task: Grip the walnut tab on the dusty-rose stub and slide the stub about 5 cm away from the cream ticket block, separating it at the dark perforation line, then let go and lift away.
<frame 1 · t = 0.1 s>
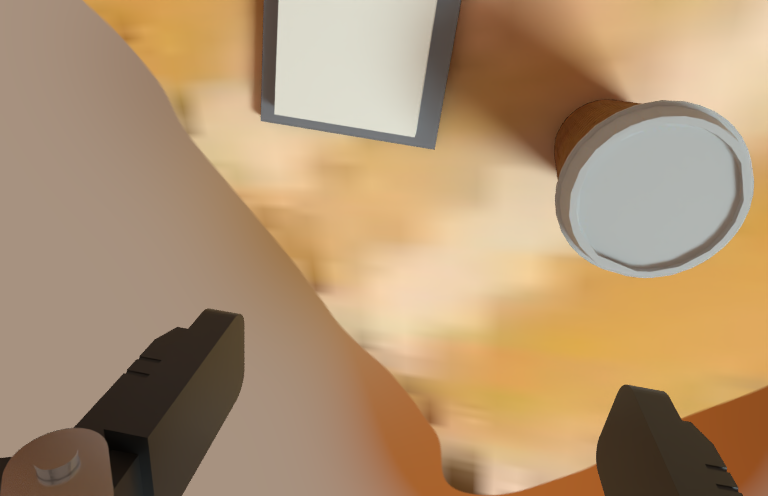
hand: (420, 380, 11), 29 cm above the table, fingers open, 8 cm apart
disposable coffee cup: (599, 144, 37), on the table
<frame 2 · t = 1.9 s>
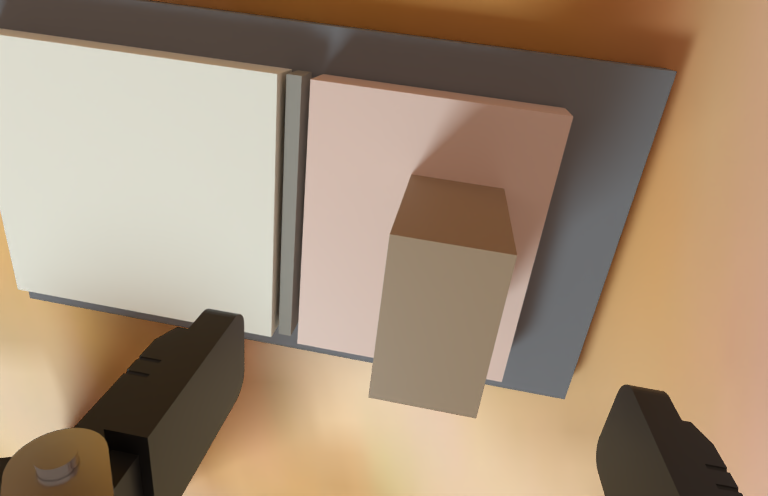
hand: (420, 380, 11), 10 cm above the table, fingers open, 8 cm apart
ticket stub: (410, 268, 16), point 4 cm above the table, slide at 0.0 cm
ticket base: (297, 198, 20), on the table
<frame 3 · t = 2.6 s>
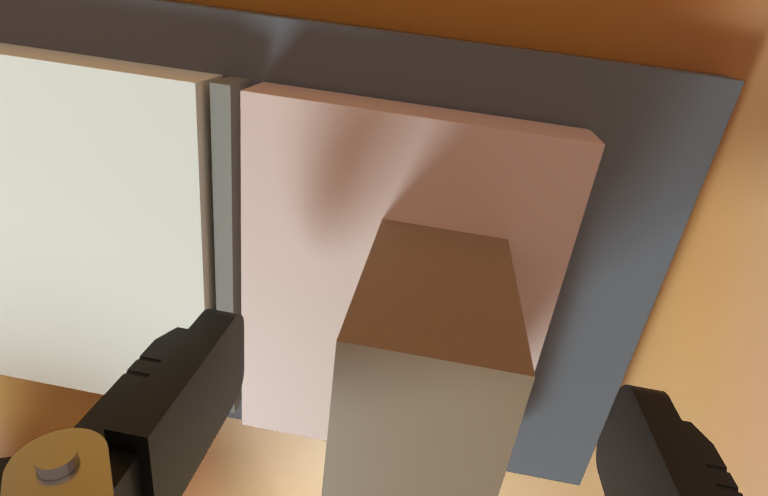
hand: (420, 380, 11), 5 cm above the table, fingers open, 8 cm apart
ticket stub: (380, 350, 12), point 4 cm above the table, slide at 0.0 cm
ticket base: (242, 238, 16), on the table
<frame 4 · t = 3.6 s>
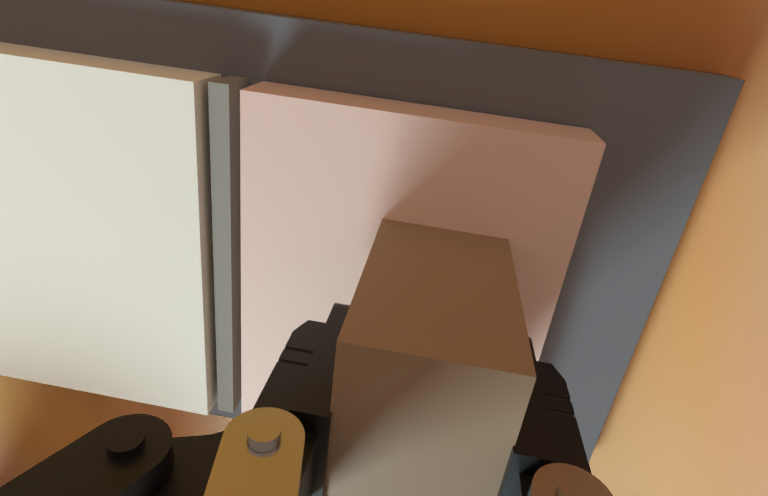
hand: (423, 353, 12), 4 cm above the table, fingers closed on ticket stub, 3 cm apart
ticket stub: (380, 351, 12), point 4 cm above the table, slide at 0.0 cm, touching gripper
ticket base: (241, 238, 16), on the table
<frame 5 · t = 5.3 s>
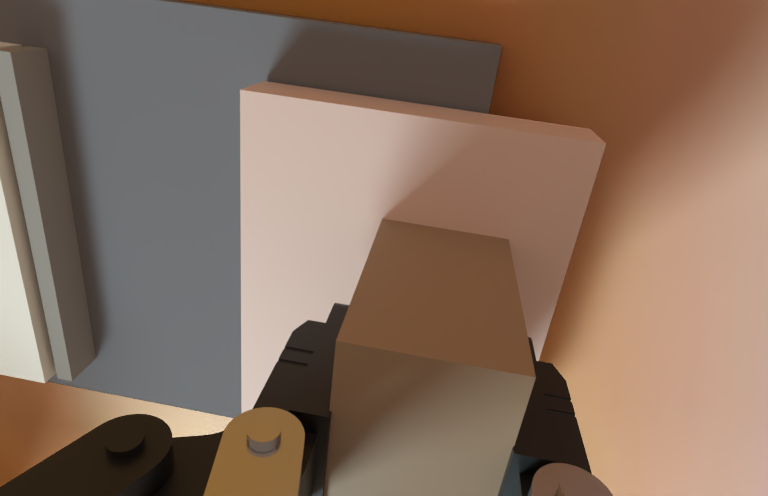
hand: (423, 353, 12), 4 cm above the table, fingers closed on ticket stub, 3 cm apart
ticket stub: (380, 351, 12), point 4 cm above the table, slide at 5.4 cm, touching gripper
ticket base: (78, 210, 16), on the table
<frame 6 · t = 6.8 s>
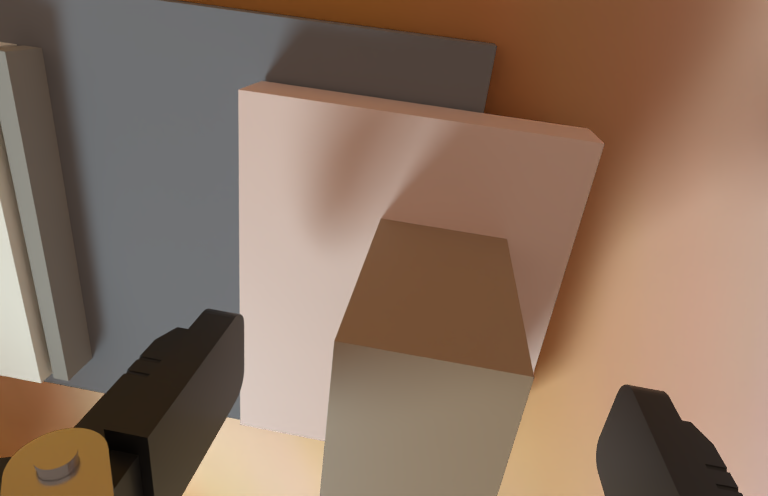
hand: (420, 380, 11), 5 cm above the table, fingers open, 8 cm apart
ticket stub: (378, 350, 12), point 4 cm above the table, slide at 5.5 cm
ticket base: (74, 210, 16), on the table
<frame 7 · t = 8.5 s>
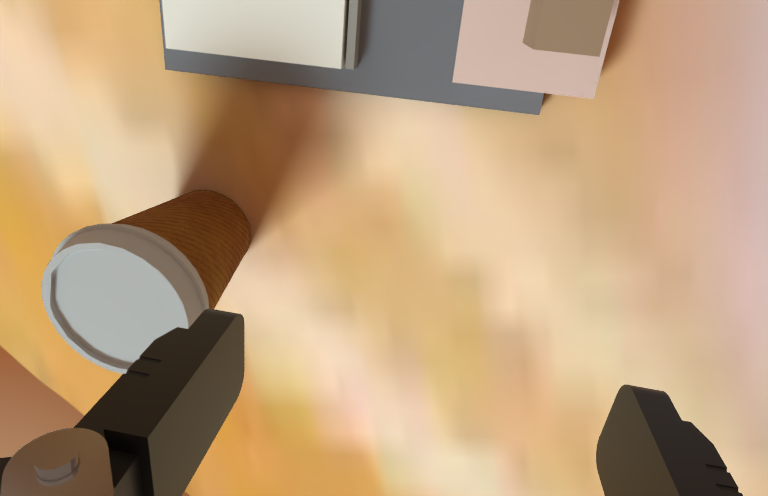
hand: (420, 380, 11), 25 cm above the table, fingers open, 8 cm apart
disposable coffee cup: (212, 228, 39), on the table
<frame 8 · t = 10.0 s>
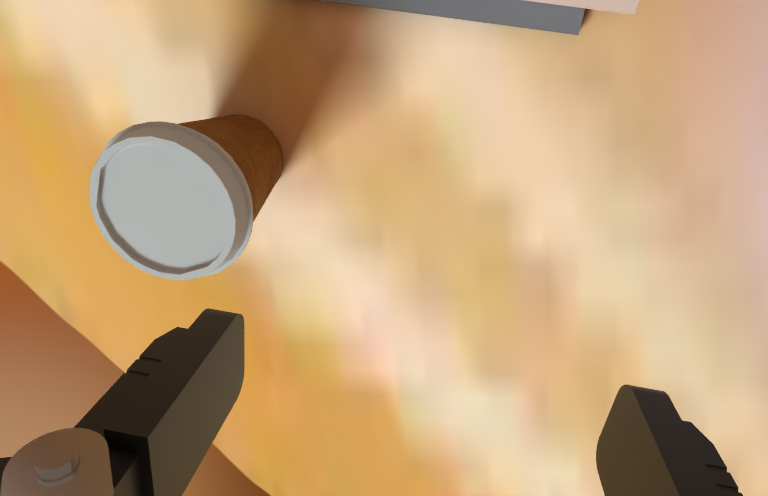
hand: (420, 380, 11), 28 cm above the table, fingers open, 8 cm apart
disposable coffee cup: (244, 155, 40), on the table
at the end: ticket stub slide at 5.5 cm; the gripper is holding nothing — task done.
